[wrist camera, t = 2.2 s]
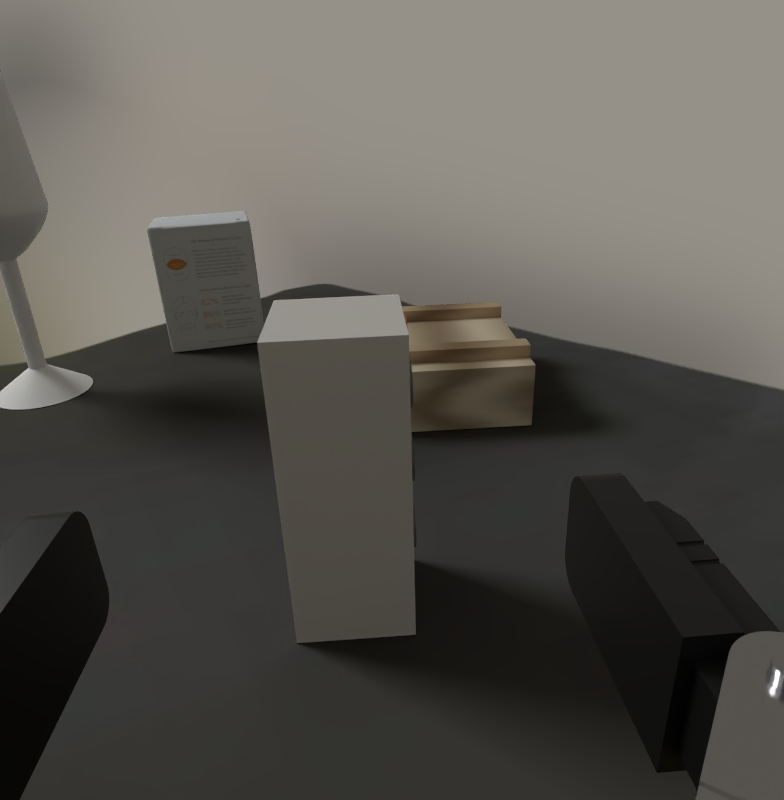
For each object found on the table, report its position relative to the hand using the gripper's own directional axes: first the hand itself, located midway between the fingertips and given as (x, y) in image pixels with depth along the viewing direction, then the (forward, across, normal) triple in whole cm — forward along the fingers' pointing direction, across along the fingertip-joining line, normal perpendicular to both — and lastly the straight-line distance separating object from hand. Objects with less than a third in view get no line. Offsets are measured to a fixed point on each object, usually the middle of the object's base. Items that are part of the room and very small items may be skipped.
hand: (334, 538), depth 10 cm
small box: (+46, +12, +11) cm, 48 cm away
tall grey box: (+12, 0, +12) cm, 16 cm away
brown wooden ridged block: (+32, -6, +11) cm, 34 cm away
